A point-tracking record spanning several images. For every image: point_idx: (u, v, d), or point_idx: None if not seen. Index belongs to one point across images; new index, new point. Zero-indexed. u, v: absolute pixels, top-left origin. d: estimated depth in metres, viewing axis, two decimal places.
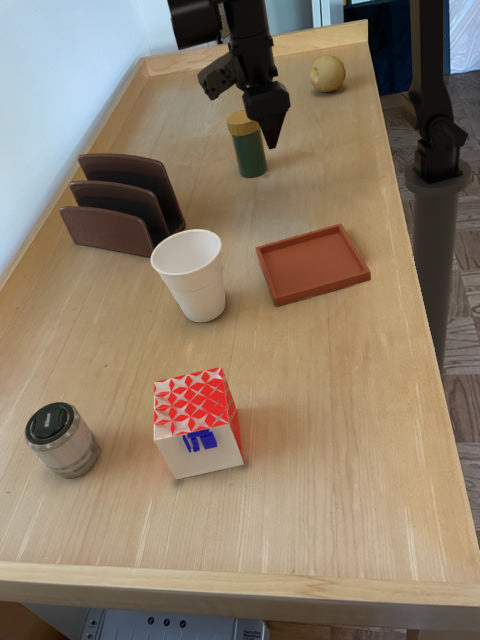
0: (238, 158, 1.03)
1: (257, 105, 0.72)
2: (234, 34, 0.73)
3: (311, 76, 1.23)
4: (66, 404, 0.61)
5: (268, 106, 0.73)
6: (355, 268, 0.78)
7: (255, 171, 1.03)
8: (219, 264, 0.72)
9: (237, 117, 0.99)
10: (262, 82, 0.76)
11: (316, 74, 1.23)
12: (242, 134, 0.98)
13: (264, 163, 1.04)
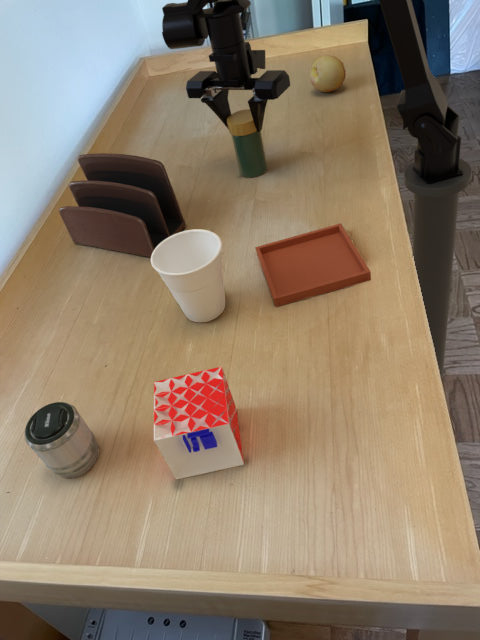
0: (238, 158, 1.03)
1: None
2: (211, 44, 0.89)
3: (311, 76, 1.23)
4: (66, 404, 0.61)
5: None
6: (355, 268, 0.78)
7: (255, 171, 1.03)
8: (219, 264, 0.72)
9: (237, 117, 0.99)
10: None
11: (316, 74, 1.23)
12: (242, 134, 0.98)
13: (264, 163, 1.04)
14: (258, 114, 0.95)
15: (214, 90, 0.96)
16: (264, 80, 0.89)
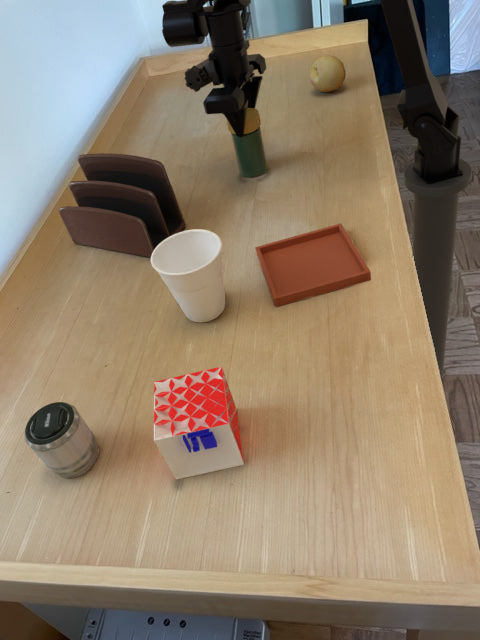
0: (238, 158, 1.03)
1: (211, 104, 0.89)
2: (211, 42, 0.89)
3: (311, 76, 1.23)
4: (66, 404, 0.61)
5: (219, 107, 0.89)
6: (355, 268, 0.78)
7: (255, 171, 1.03)
8: (219, 264, 0.72)
9: None
10: (231, 85, 0.92)
11: (316, 74, 1.23)
12: (260, 122, 1.00)
13: (264, 163, 1.04)
14: None
15: None
16: (255, 57, 0.98)
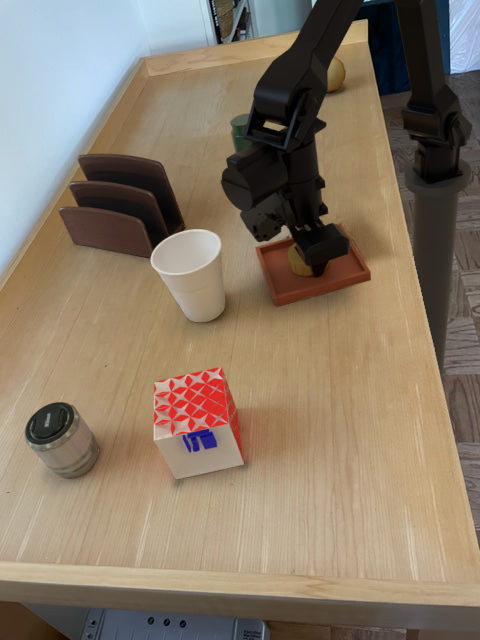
0: None
1: (318, 254, 0.68)
2: (294, 180, 0.68)
3: None
4: (66, 404, 0.61)
5: (329, 253, 0.69)
6: (355, 268, 0.78)
7: None
8: (219, 264, 0.72)
9: None
10: (313, 222, 0.72)
11: None
12: None
13: None
14: None
15: None
16: None
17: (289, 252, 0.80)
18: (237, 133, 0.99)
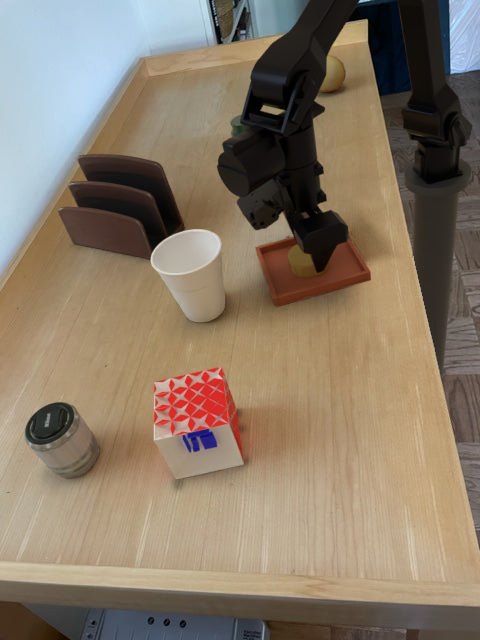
0: None
1: (316, 241, 0.67)
2: (292, 166, 0.67)
3: None
4: (66, 404, 0.61)
5: (327, 241, 0.67)
6: (355, 268, 0.78)
7: None
8: (219, 264, 0.72)
9: None
10: (311, 209, 0.71)
11: None
12: None
13: None
14: None
15: None
16: None
17: (289, 254, 0.80)
18: (237, 133, 0.99)
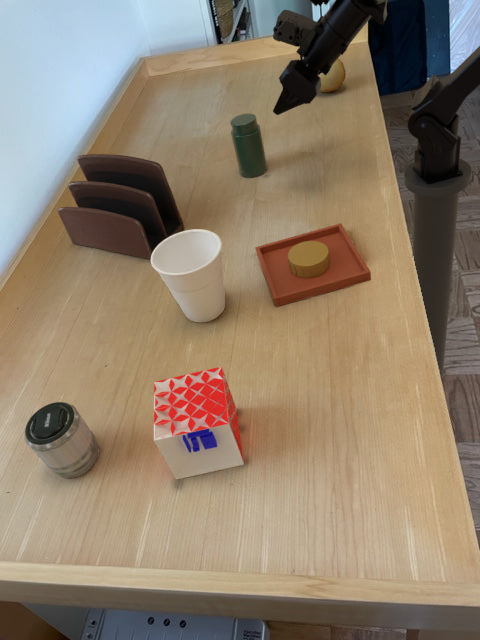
0: (238, 158, 1.03)
1: (291, 78, 0.81)
2: (328, 17, 0.81)
3: None
4: (66, 404, 0.61)
5: (297, 87, 0.82)
6: (355, 268, 0.78)
7: (255, 171, 1.03)
8: (219, 264, 0.72)
9: (312, 255, 0.79)
10: (312, 67, 0.85)
11: None
12: None
13: (264, 163, 1.04)
14: None
15: None
16: None
17: (289, 254, 0.80)
18: (237, 133, 0.99)
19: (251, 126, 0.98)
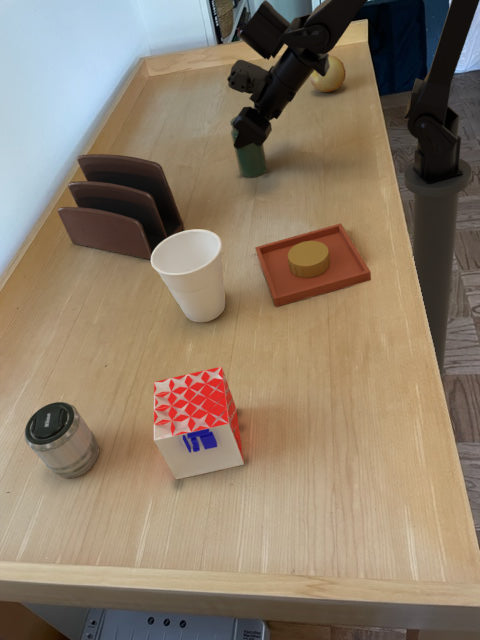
0: (238, 158, 1.03)
1: (243, 124, 0.90)
2: (276, 69, 0.89)
3: (311, 76, 1.23)
4: (66, 404, 0.61)
5: (248, 132, 0.90)
6: (355, 268, 0.78)
7: (255, 171, 1.03)
8: (219, 264, 0.72)
9: (312, 255, 0.79)
10: (264, 112, 0.93)
11: (316, 74, 1.23)
12: None
13: (264, 163, 1.04)
14: None
15: None
16: None
17: (289, 254, 0.80)
18: (237, 133, 0.99)
19: None
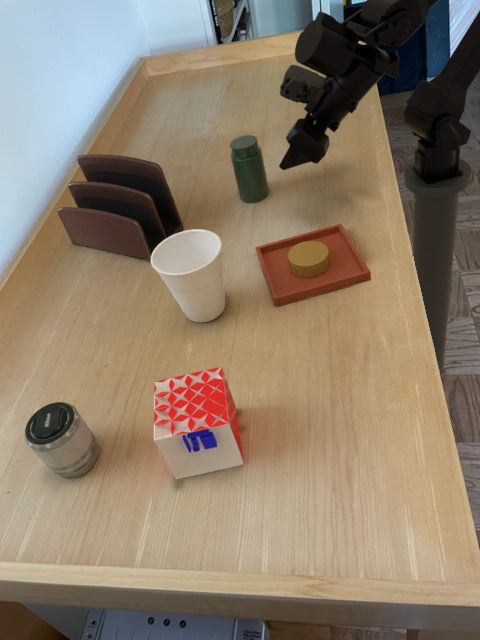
0: (238, 182, 0.96)
1: (299, 139, 0.78)
2: (343, 84, 0.78)
3: None
4: (66, 404, 0.61)
5: (305, 147, 0.79)
6: (355, 268, 0.78)
7: (256, 196, 0.97)
8: (219, 264, 0.72)
9: (312, 255, 0.79)
10: (320, 124, 0.82)
11: None
12: None
13: (266, 187, 0.97)
14: None
15: None
16: None
17: (289, 254, 0.80)
18: (237, 157, 0.92)
19: (252, 149, 0.91)
